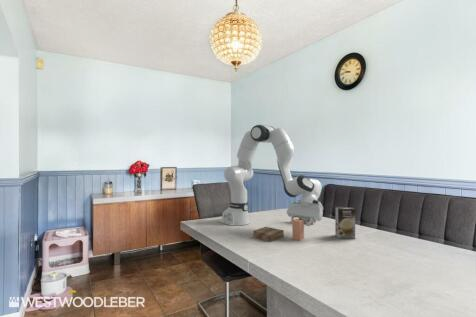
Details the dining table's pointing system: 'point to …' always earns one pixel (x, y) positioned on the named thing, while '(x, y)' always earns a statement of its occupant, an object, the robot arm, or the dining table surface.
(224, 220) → the robot arm
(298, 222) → the pillar block
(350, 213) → the coffee box
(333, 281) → the dining table surface
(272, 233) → the base block
